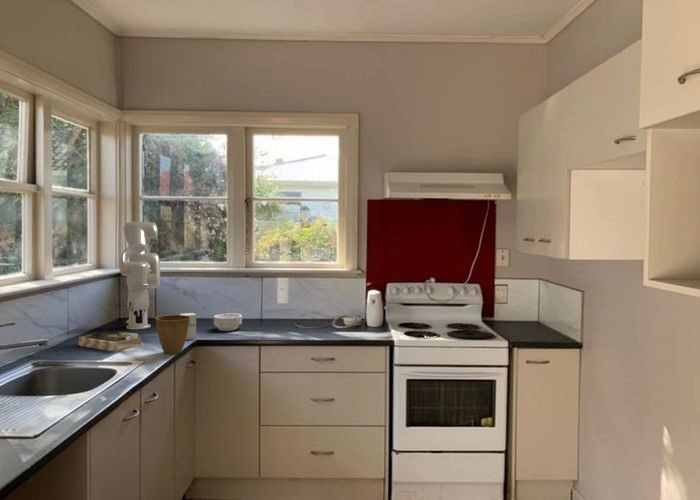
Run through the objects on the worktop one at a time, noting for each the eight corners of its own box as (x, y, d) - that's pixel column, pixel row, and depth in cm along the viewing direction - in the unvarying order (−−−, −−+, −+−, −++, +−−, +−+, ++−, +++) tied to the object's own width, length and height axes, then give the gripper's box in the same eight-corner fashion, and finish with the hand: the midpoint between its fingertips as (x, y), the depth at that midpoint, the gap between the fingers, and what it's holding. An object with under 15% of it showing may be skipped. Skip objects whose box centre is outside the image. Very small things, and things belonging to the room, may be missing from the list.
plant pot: (165, 358, 220) (165, 321, 219) (149, 352, 230) (149, 317, 229) (196, 352, 230) (196, 317, 230) (180, 347, 241) (180, 313, 240)
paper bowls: (228, 333, 273) (228, 318, 272) (207, 330, 280) (207, 316, 280) (247, 328, 286) (247, 314, 286) (227, 325, 293) (227, 312, 293)
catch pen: (78, 345, 243) (78, 337, 243) (105, 339, 256) (104, 332, 256) (115, 351, 231) (115, 343, 231) (141, 345, 243) (141, 337, 243)
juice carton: (140, 344, 248) (140, 331, 247) (128, 349, 238) (128, 336, 238) (103, 343, 251) (103, 330, 251) (90, 347, 241) (89, 335, 241)
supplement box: (181, 340, 254) (181, 315, 254) (179, 337, 261) (178, 313, 260) (196, 339, 258) (196, 314, 257) (193, 336, 264) (193, 312, 264)
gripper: (145, 285, 266) (146, 319, 267) (120, 288, 253) (121, 325, 254) (155, 286, 262) (156, 321, 264) (131, 290, 249) (131, 327, 251)
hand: (139, 323), depth 259 cm, fingers closed
